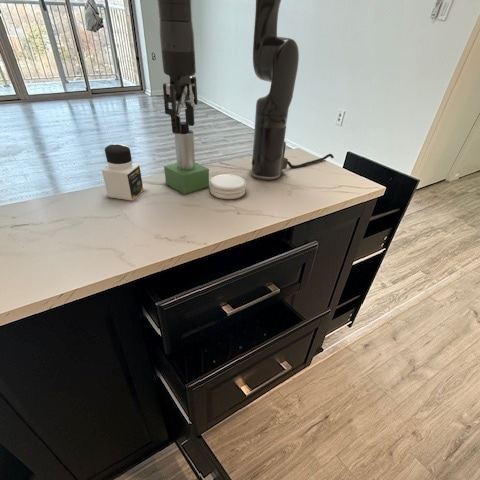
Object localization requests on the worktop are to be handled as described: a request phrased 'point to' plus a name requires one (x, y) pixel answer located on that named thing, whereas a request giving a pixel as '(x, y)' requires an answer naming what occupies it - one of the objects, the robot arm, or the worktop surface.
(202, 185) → the block
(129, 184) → the medicine bottle
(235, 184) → the white short cylinder
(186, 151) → the flask
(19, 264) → the worktop surface
